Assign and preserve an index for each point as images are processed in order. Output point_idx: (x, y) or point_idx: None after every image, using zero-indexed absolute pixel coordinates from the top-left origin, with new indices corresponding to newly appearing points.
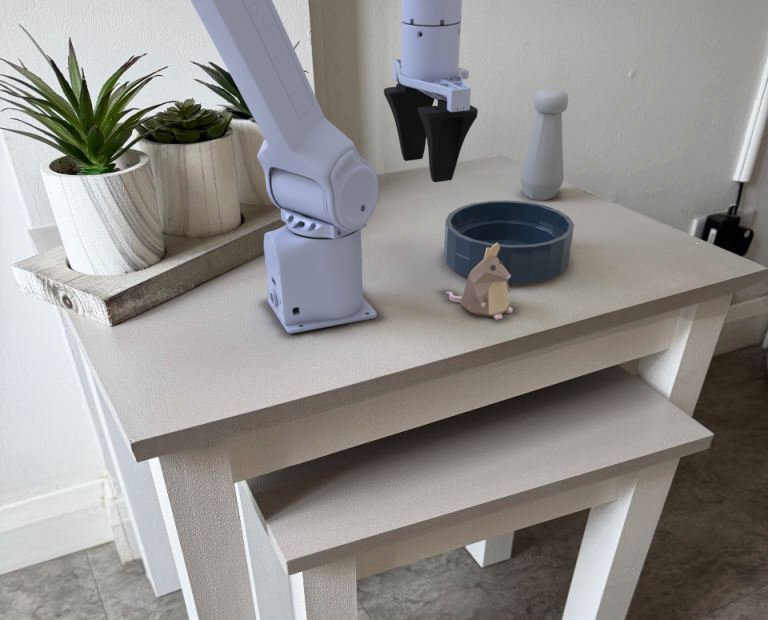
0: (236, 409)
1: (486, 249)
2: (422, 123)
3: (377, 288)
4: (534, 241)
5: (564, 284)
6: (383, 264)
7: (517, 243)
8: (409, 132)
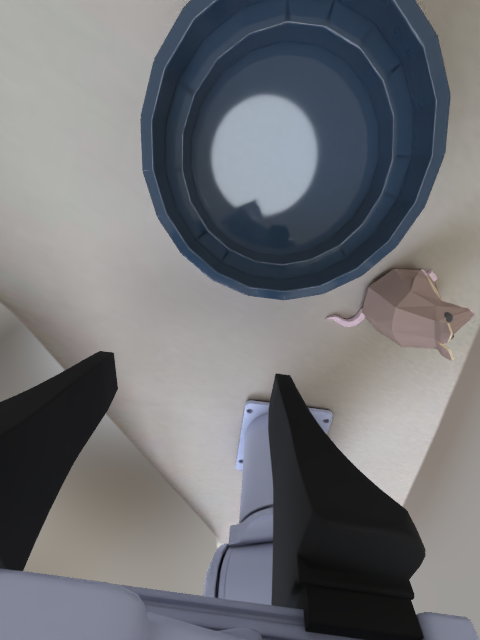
0: None
1: (453, 360)
2: (59, 414)
3: (261, 376)
4: (254, 47)
5: None
6: (198, 339)
7: (234, 90)
8: (78, 429)
